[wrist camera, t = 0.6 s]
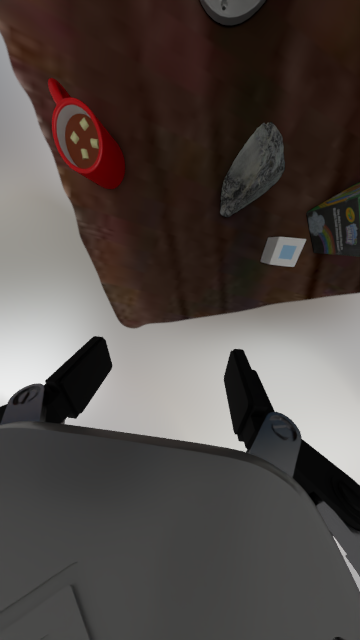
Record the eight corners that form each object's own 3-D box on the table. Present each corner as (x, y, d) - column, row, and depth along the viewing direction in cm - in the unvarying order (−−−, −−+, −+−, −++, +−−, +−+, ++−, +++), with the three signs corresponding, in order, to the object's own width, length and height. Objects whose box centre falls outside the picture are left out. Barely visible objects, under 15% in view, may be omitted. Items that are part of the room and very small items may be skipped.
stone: (270, 202, 21) (277, 94, 17) (213, 220, 28) (207, 148, 24) (288, 201, 26) (298, 119, 22) (237, 217, 33) (235, 157, 29)
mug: (90, 90, 25) (49, 30, 18) (132, 172, 29) (112, 150, 22) (62, 126, 27) (15, 86, 20) (105, 197, 31) (79, 185, 24)
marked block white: (268, 237, 32) (280, 236, 27) (291, 239, 32) (307, 239, 27) (259, 261, 34) (269, 264, 30) (281, 263, 34) (294, 267, 29)
